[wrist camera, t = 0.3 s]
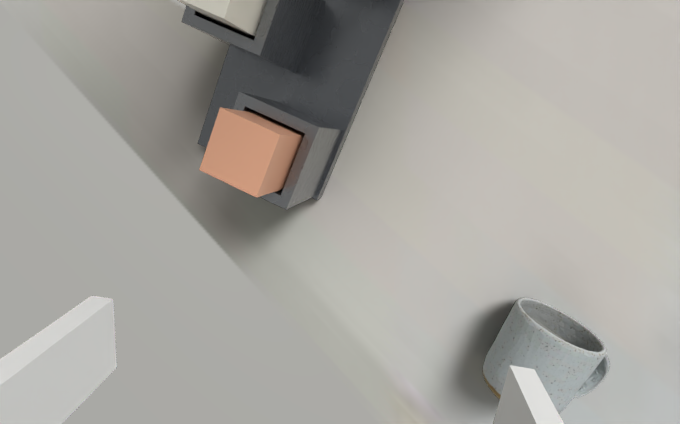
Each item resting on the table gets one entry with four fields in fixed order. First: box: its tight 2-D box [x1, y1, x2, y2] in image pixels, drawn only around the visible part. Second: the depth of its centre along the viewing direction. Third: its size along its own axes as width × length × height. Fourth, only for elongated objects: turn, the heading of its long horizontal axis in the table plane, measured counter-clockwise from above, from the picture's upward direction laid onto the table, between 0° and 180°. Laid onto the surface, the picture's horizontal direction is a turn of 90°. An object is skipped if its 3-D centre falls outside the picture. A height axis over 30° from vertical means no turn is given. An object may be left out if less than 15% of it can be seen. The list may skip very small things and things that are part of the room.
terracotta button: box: [199, 107, 305, 198], centre depth 30 cm, size 4×4×8 cm
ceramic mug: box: [483, 298, 610, 414], centre depth 34 cm, size 10×8×7 cm
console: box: [182, 0, 404, 210], centre depth 33 cm, size 26×13×10 cm, turn 156°
